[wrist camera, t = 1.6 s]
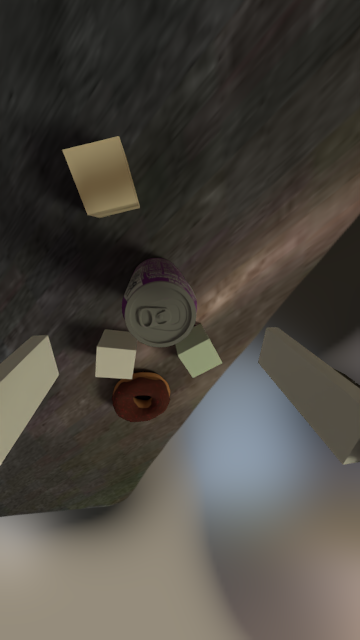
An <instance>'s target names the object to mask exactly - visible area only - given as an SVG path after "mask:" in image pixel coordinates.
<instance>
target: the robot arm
mask: <svg viewBox="0 0 360 640" xmlns="http://www.w3.org/2000/svg"><path fill="white" fill-rule="evenodd" d="M258 363H259V364H260V365H261V367H262V368H263V369H264V370H265V371H266V373H267V374H268V375H269V376H270V377H271V379H272V380H273V381H274V382H275V383H276V385H277V386H278V387H279V388H280V389H281V391H282V392H283V393H284V394H285V395H286V397H287V398H288V399H289V400H290V401H291V403H292V404H293V405H294V406H295V408H296V409H297V410H298V411H299V412H300V414H301V415H302V416H303V417H304V418H305V420H306V421H307V422H308V423H309V424H310V426H311V427H312V428H313V429H314V430H315V432H316V433H317V434H318V435H319V436H320V437H321V439H322V440H323V441H324V442H325V444H326V445H327V446H328V447H329V448H330V450H331V451H332V452H333V453H334V454H335V456H336V457H337V458H338V459H339V460H340V462H341V463H342V464H350V463H355V462H360V385H358V384H357V383H355V381H353V380H352V379H350V378H349V377H348V376H346V375H345V374H343V373H341V372H339V371H337V370H335V369H333V368H331V367H330V366H329V365H327V364H326V363H325V362H323V361H322V360H321V359H319V358H318V357H316V356H315V355H314V354H312V353H311V352H310V351H308V350H307V349H306V348H304V347H303V346H302V345H300V344H299V343H298V342H296V341H295V340H294V339H292V338H291V337H290V336H288V335H287V334H286V333H284V332H283V331H282V330H280V329H279V328H277V327H276V328H275V327H274V328H266V332H265V336H264V340H263V345H262V349H261V353H260V357H259V361H258ZM58 375H59V373H58V370H57V366H56V363H55V359H54V355H53V352H52V348H51V345H50V341H49V338H48V335H43V336H32V337H31V338H30V339H28V340H27V341H26V342H25V343H24V344H23V345H21V346H20V347H19V348H18V349H17V350H16V351H15V352H13V353H12V354H11V355H10V356H9V357H8V358H7V359H5V360H4V361H3V362H2V363H1V364H0V465H1V463H2V462H3V460H4V459H5V457H6V456H7V454H8V453H9V451H10V449H11V448H12V446H13V445H14V443H15V442H16V440H17V439H18V437H19V436H20V434H21V432H22V431H23V429H24V428H25V426H26V425H27V423H28V422H29V420H30V419H31V417H32V416H33V414H34V412H35V411H36V409H37V408H38V406H39V405H40V403H41V402H42V400H43V399H44V397H45V396H46V394H47V392H48V391H49V389H50V388H51V386H52V385H53V383H54V382H55V380H56V379H57V377H58Z"/></svg>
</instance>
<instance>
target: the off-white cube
mask: <svg viewBox="0 0 360 640" xmlns="http://www.w3.org/2000/svg"><path fill="white" fill-rule="evenodd" d="M136 347H137V339H136V338H134V337H133V335H132V334H131V333H130V332H126V331H117V330H109V329H105V330H104V332H103V334H102V337H101V339H100V341H99V343H98V345H97V353H96V376H95V377H104V378H119V379H132V376H133V369H134V362H135V355H136Z"/></svg>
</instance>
